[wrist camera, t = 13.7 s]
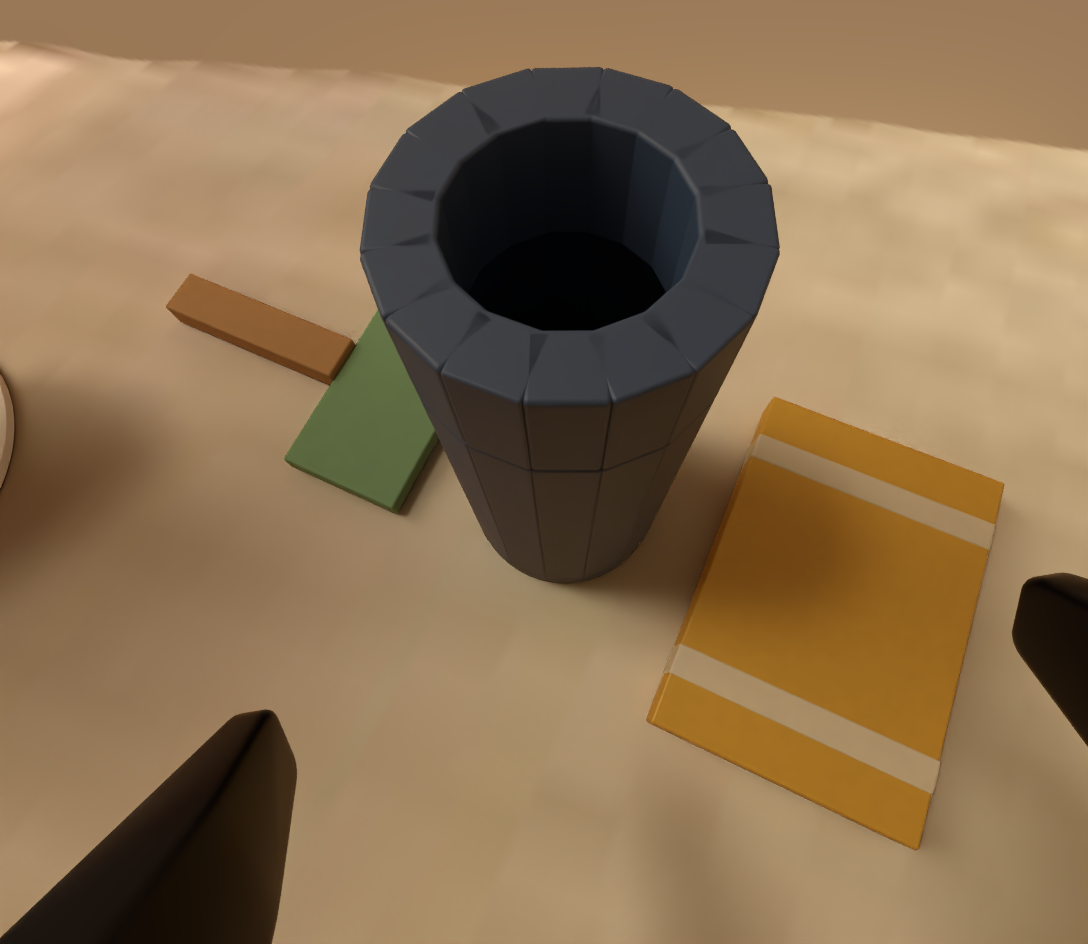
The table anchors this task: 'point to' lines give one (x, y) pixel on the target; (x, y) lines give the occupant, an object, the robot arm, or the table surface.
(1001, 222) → the table surface
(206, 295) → the spatula
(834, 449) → the towel
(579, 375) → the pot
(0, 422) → the white stand
